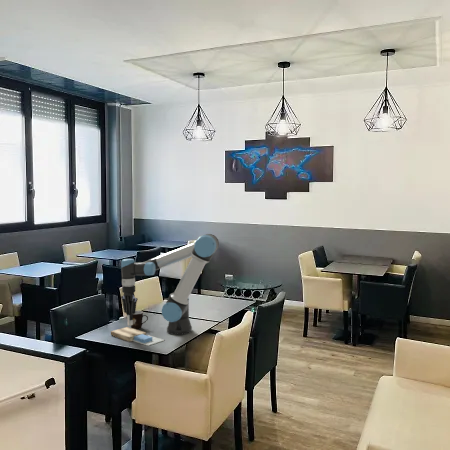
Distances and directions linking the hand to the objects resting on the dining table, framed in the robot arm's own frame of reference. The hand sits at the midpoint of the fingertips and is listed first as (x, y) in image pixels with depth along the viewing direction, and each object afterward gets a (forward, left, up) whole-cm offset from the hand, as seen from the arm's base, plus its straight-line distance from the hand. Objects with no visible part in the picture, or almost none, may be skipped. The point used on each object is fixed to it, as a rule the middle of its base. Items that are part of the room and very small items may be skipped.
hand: (130, 325), depth 261 cm
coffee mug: (-13, -10, -7) cm, 17 cm away
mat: (-2, +14, -7) cm, 16 cm away
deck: (0, -2, -7) cm, 7 cm away
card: (0, +12, -6) cm, 14 cm away
